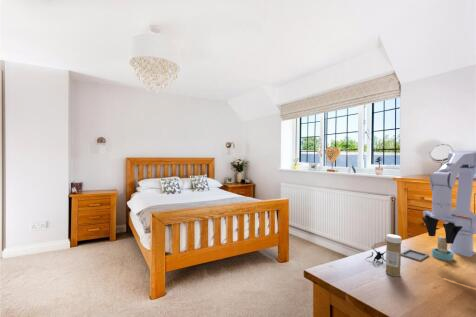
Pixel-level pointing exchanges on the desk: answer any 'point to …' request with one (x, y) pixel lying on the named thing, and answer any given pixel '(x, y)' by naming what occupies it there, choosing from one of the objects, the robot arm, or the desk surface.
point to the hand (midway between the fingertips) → (440, 239)
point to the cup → (442, 255)
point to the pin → (442, 245)
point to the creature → (378, 256)
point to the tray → (414, 255)
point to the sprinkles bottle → (393, 254)
